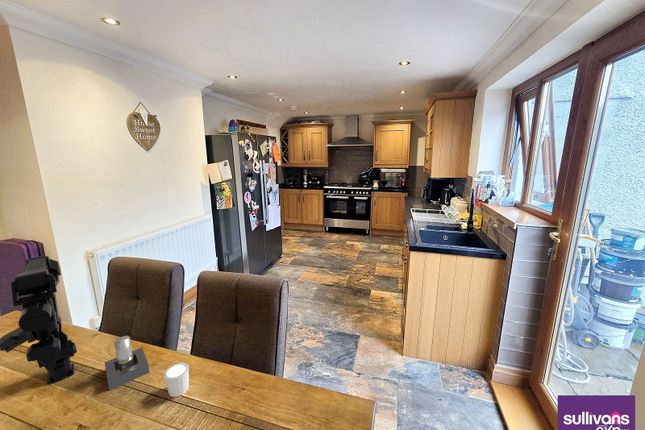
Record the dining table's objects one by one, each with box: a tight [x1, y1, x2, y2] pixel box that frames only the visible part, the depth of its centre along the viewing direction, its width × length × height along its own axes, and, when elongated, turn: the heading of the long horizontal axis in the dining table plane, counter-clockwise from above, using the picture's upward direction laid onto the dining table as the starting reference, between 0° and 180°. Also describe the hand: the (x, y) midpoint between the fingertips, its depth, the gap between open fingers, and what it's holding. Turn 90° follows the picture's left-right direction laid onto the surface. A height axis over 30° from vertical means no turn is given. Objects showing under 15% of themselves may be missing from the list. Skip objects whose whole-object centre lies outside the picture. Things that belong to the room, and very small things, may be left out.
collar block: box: [104, 347, 150, 391], centre depth 93 cm, size 11×11×4 cm
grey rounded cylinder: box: [114, 335, 135, 372], centre depth 92 cm, size 4×4×12 cm
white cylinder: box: [163, 362, 190, 398], centre depth 86 cm, size 7×7×7 cm
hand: (51, 361), depth 80 cm, fingers open, 9 cm apart
